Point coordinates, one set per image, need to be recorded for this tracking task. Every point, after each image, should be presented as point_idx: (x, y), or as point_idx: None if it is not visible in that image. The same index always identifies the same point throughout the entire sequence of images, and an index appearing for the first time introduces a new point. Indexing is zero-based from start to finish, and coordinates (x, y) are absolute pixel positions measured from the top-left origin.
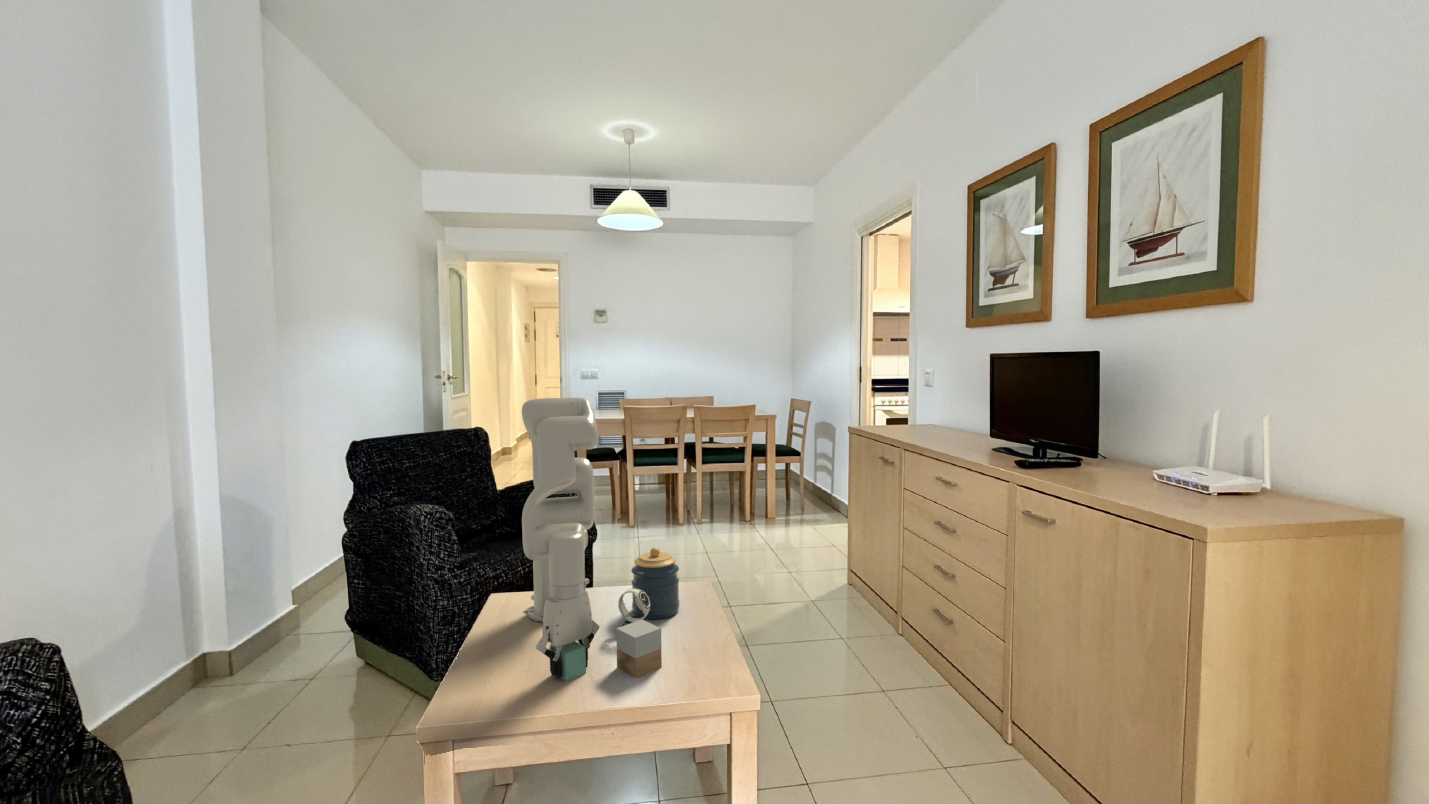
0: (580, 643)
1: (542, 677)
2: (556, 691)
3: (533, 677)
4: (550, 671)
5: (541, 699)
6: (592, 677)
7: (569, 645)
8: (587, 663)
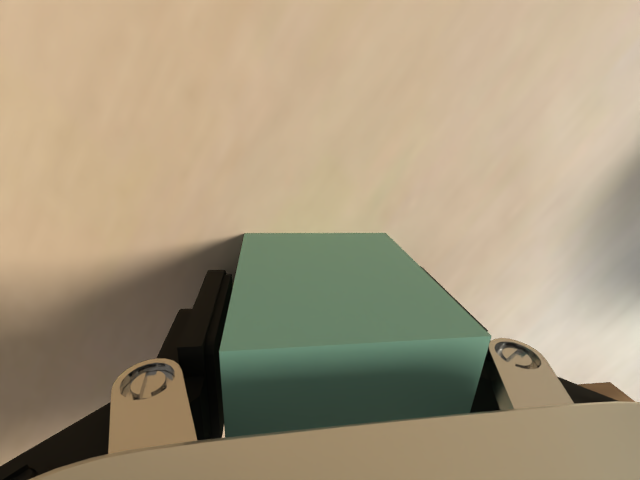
0: (490, 388)
1: (167, 220)
2: None
3: (115, 174)
4: (180, 312)
5: (54, 418)
6: None
7: (378, 420)
8: None
